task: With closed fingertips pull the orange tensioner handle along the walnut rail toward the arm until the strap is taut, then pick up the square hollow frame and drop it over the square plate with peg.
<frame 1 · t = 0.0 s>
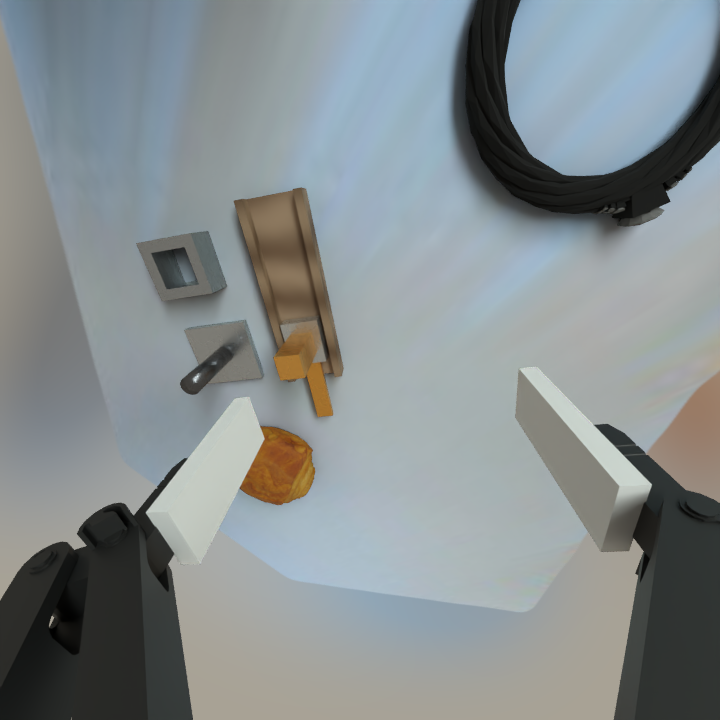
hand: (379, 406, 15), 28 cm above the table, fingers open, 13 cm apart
cable lock: (607, 71, 30), on the table
square hollow frame: (193, 263, 41), on the table
rail: (298, 294, 42), on the table
tensioner: (308, 384, 41), point 6 cm above the table, slide at 0.0 cm
square plate with peg: (227, 351, 46), on the table
croissant: (278, 454, 55), on the table
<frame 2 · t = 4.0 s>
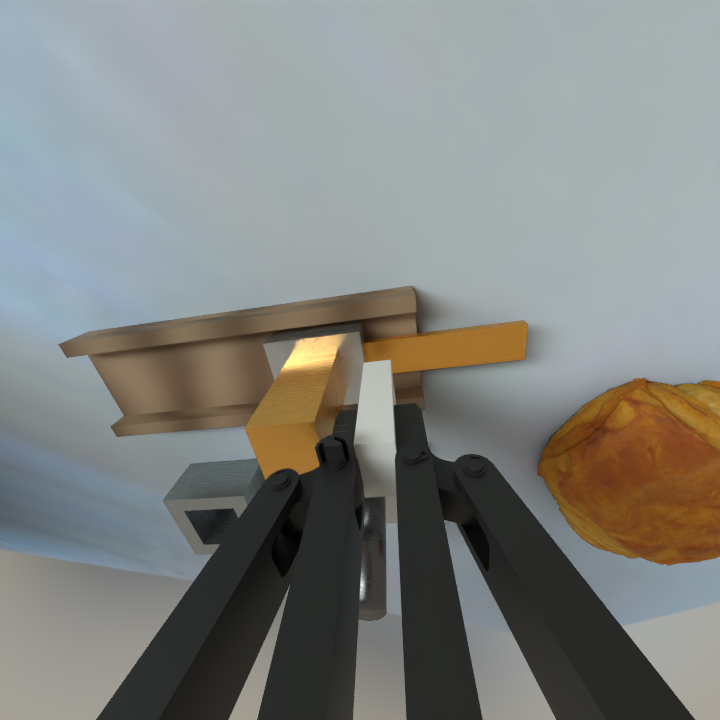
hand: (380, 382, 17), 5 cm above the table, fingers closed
square hollow frame: (238, 488, 29), on the table
rail: (255, 361, 23), on the table
tensioner: (399, 386, 17), point 6 cm above the table, slide at 0.5 cm, touching gripper
square plate with peg: (372, 480, 28), on the table
croissant: (627, 444, 25), on the table
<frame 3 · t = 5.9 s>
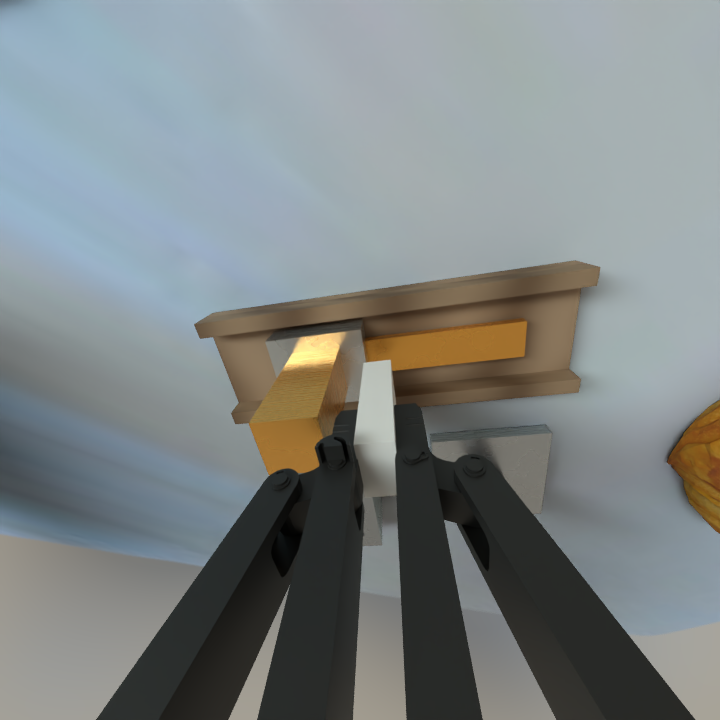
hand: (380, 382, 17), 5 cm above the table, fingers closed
square hollow frame: (339, 480, 28), on the table
rail: (387, 343, 22), on the table
tensioner: (400, 383, 17), point 6 cm above the table, slide at 10.3 cm
square plate with peg: (485, 470, 27), on the table
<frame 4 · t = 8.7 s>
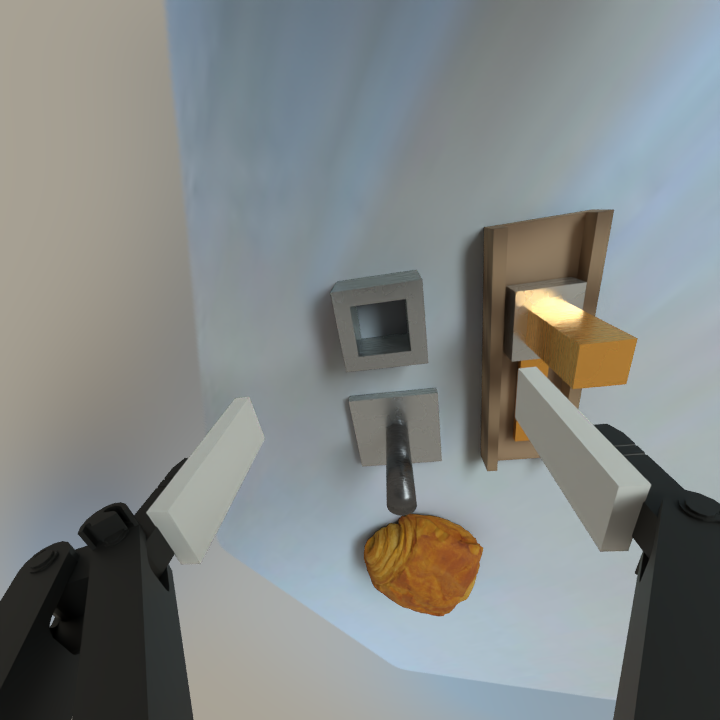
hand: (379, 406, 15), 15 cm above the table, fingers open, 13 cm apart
square hollow frame: (381, 314, 28), on the table
rail: (525, 356, 29), on the table
tensioner: (555, 394, 24), point 6 cm above the table, slide at 10.4 cm
square plate with peg: (396, 426, 34), on the table
croissant: (423, 542, 43), on the table
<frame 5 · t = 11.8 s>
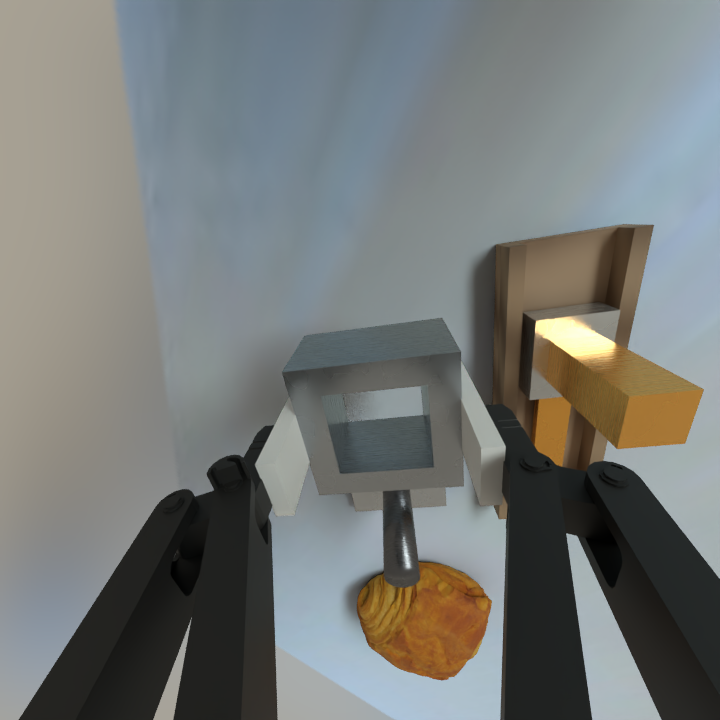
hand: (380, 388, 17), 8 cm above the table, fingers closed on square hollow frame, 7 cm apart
square hollow frame: (380, 386, 17), point 8 cm above the table, touching gripper
rail: (542, 389, 25), on the table
tensioner: (583, 441, 20), point 6 cm above the table, slide at 10.4 cm
square plate with peg: (394, 467, 30), on the table
croissant: (424, 590, 38), on the table
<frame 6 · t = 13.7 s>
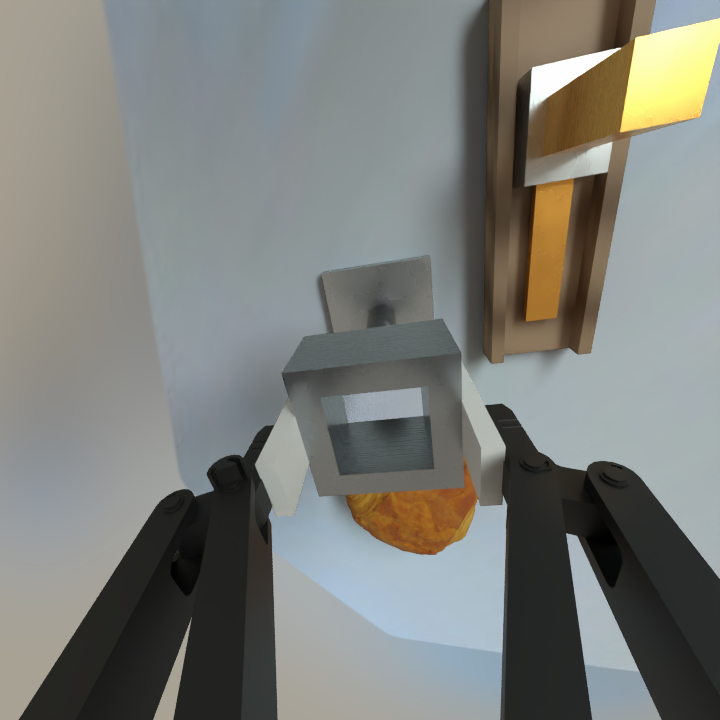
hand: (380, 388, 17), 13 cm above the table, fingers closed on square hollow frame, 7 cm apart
square hollow frame: (380, 387, 17), point 12 cm above the table, touching gripper
rail: (540, 203, 23), on the table
tensioner: (583, 214, 18), point 6 cm above the table, slide at 10.4 cm
square plate with peg: (381, 314, 28), on the table
croissant: (414, 475, 37), on the table
when the fingers open (3 cm above the table, at t = 15.7 s): square hollow frame drops 1 cm, resting on square plate with peg.
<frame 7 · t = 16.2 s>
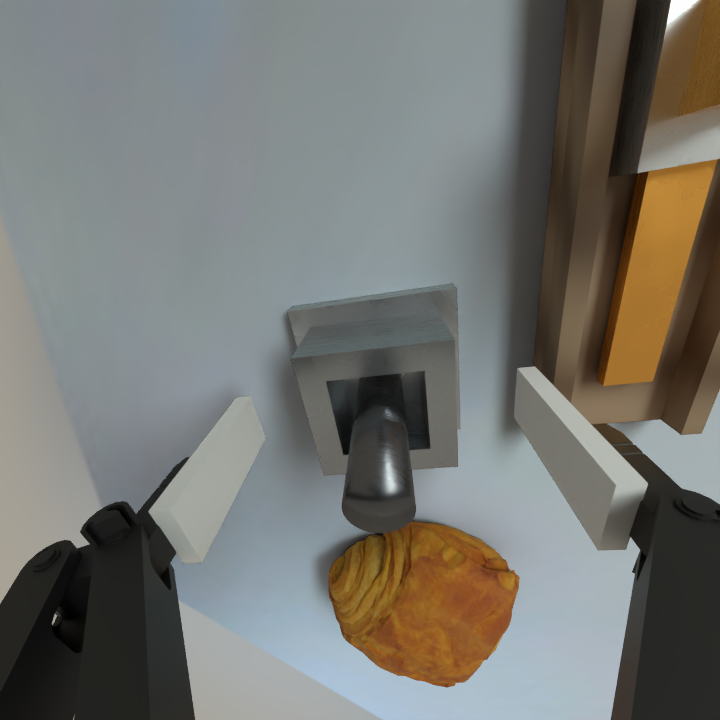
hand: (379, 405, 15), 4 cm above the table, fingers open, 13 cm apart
square hollow frame: (380, 375, 18), point 1 cm above the table, touching square plate with peg
rail: (638, 203, 14), on the table
square plate with peg: (380, 366, 19), on the table
croissant: (422, 563, 28), on the table
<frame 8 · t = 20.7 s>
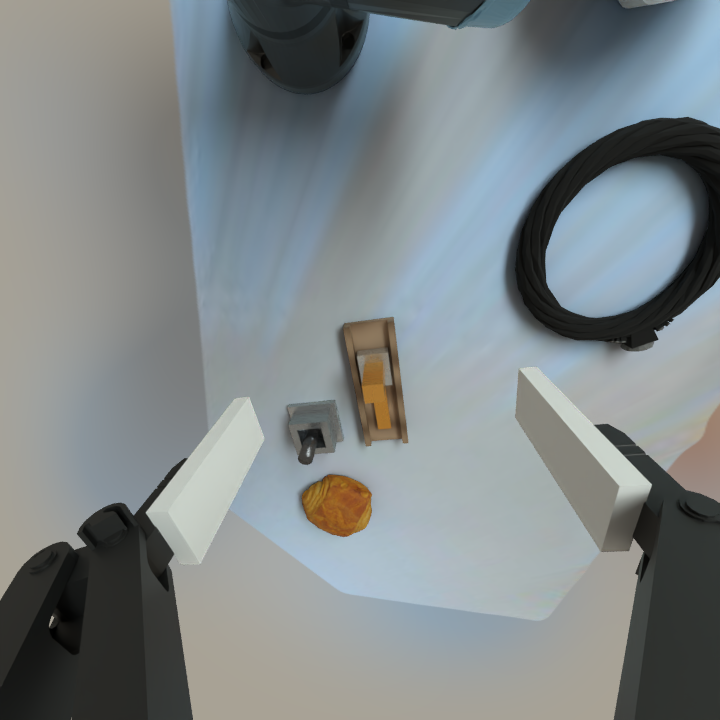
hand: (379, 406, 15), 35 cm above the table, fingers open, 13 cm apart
cable lock: (615, 252, 43), on the table
square hollow frame: (316, 424, 58), point 1 cm above the table, touching square plate with peg
rail: (378, 383, 55), on the table
tensioner: (378, 404, 50), point 6 cm above the table, slide at 10.4 cm
square plate with peg: (316, 421, 59), on the table
croissant: (341, 494, 69), on the table
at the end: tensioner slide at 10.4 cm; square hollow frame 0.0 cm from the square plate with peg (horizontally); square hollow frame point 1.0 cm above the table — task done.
